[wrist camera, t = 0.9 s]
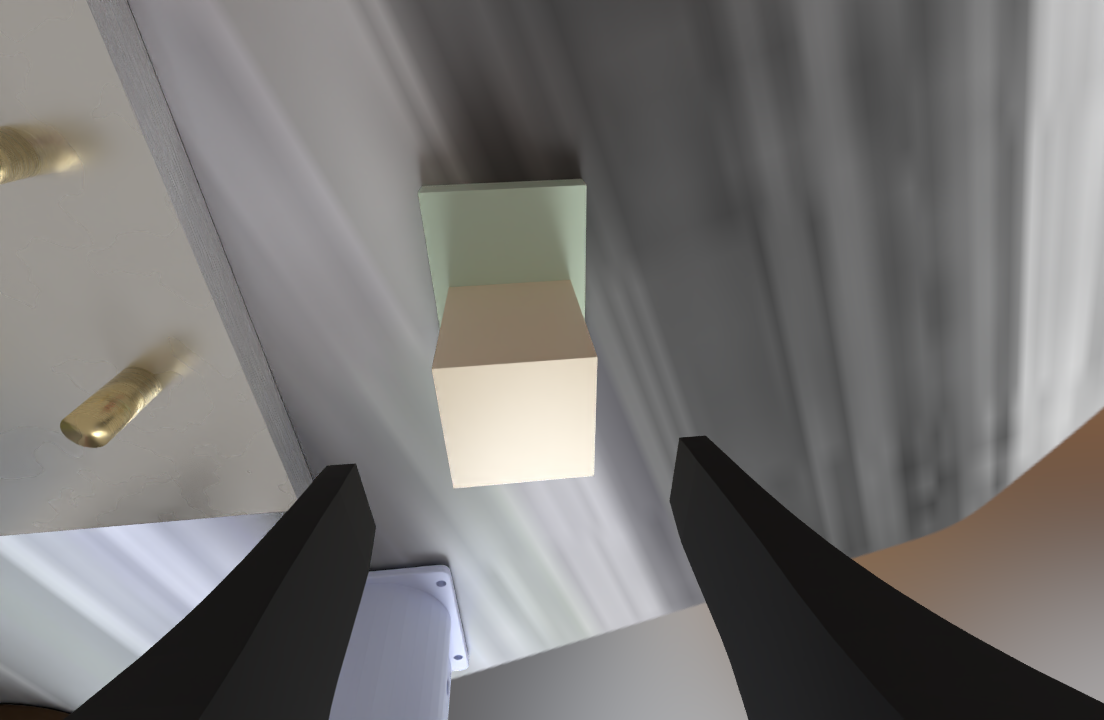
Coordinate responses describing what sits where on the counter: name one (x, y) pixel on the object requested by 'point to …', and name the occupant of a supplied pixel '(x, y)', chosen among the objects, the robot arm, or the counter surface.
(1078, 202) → the counter surface
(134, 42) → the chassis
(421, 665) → the robot arm
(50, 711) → the olive oil
